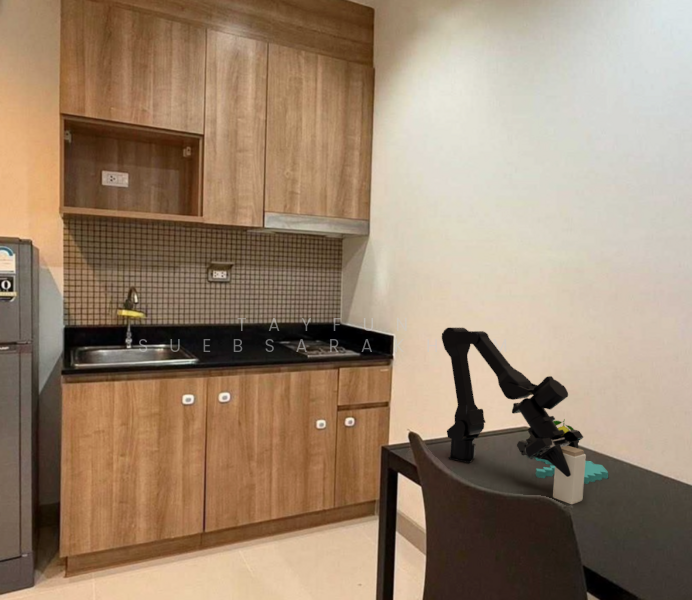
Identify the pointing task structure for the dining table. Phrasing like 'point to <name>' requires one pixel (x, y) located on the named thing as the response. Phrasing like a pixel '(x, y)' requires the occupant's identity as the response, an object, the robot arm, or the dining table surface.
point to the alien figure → (591, 473)
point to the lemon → (563, 426)
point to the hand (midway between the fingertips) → (574, 474)
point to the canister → (572, 485)
